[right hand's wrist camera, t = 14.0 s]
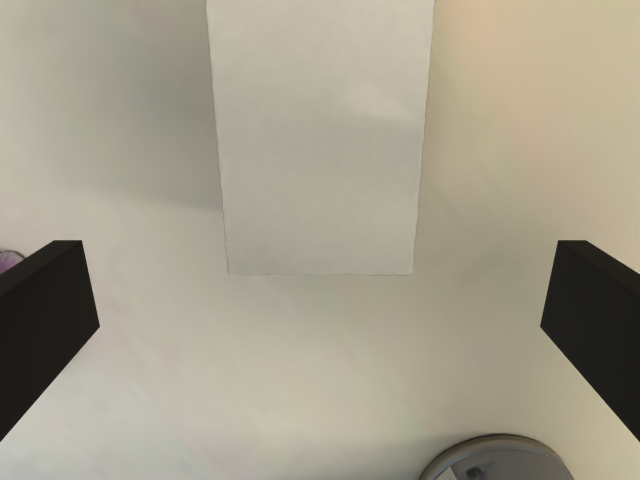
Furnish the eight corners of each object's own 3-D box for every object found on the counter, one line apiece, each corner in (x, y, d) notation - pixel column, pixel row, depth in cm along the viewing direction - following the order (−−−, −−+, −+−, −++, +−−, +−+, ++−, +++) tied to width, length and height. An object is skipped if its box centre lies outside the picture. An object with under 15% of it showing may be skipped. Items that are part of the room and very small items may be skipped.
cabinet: (239, -53, 27) (194, -122, 17) (401, -53, 27) (445, -122, 17) (254, 216, 33) (228, 275, 24) (385, 216, 33) (412, 275, 24)
